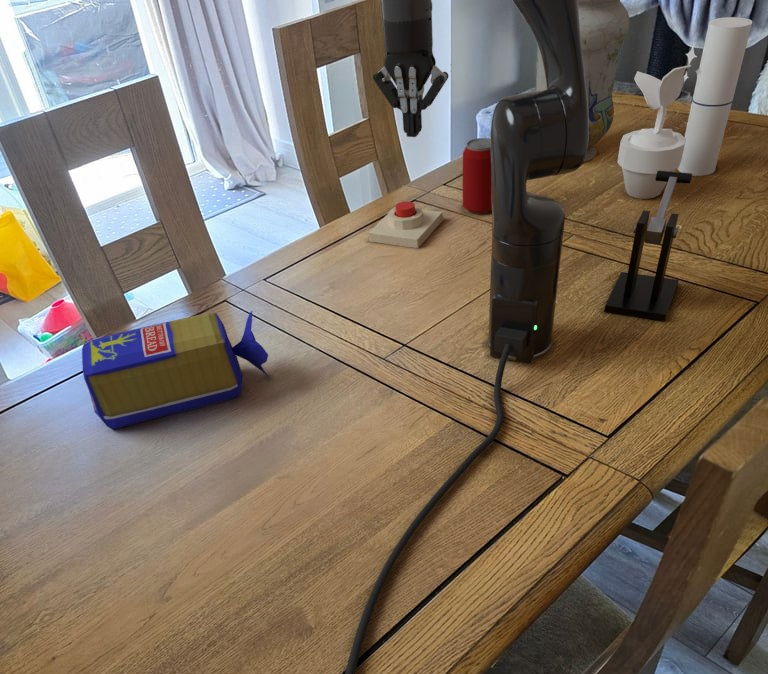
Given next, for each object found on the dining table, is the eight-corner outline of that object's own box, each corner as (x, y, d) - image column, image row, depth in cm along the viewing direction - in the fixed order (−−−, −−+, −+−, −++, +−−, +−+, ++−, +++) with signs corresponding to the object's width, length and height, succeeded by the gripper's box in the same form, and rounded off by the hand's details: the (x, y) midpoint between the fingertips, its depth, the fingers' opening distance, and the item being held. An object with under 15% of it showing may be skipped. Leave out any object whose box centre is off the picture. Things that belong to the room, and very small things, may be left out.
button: (410, 220, 129) (409, 210, 127) (392, 217, 130) (392, 208, 129) (418, 211, 131) (417, 202, 129) (400, 209, 132) (400, 200, 131)
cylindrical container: (677, 175, 140) (709, 27, 122) (677, 161, 145) (708, 17, 127) (715, 176, 138) (753, 26, 120) (714, 162, 143) (751, 16, 125)
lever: (656, 179, 107) (658, 165, 105) (690, 182, 105) (693, 168, 103) (634, 241, 103) (636, 229, 101) (669, 246, 101) (672, 233, 99)
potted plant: (687, 196, 133) (723, 43, 115) (636, 210, 131) (664, 56, 113) (646, 175, 141) (674, 29, 123) (597, 188, 139) (618, 40, 121)
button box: (417, 248, 127) (417, 229, 125) (369, 241, 131) (367, 223, 128) (442, 220, 134) (442, 202, 132) (396, 214, 138) (394, 196, 135)
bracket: (620, 278, 114) (634, 199, 105) (677, 286, 111) (697, 206, 102) (604, 312, 108) (617, 231, 98) (664, 321, 104) (684, 239, 95)
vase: (622, 145, 153) (648, -24, 132) (592, 175, 144) (616, -3, 122) (545, 135, 161) (558, -26, 139) (512, 163, 151) (521, -6, 129)
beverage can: (496, 200, 139) (499, 135, 130) (497, 215, 134) (499, 149, 125) (462, 201, 140) (463, 137, 131) (462, 216, 135) (462, 150, 126)
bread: (100, 397, 103) (72, 336, 95) (264, 357, 106) (249, 295, 99) (102, 438, 96) (72, 376, 88) (277, 393, 100) (262, 330, 92)
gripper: (357, 18, 106) (369, 140, 119) (438, 19, 102) (440, 145, 114) (378, 7, 111) (387, 126, 123) (456, 7, 106) (457, 130, 119)
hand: (413, 135), depth 119 cm, fingers closed
